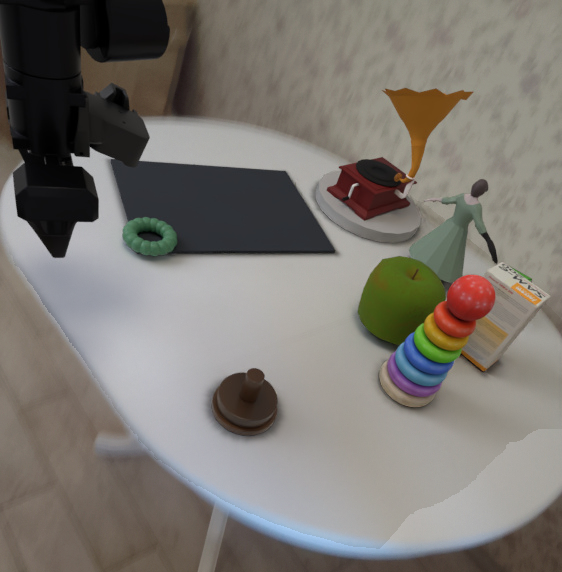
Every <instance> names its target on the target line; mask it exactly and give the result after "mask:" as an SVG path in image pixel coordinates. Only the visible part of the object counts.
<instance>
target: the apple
mask: <svg viewBox="0 0 562 572" xmlns="http://www.w3.org/2000/svg"><path fill="white" fill-rule="evenodd" d="M443 301H447V293H446V288H445V286H444V284H443V282H442V280H441V279H439V277H438V276H437V274H436V273H435V272H434V271H433V270H432V269H431V268H430V267H428V266H427V265H425V264H424V263H422V262H421V261H419V260H416V259H413V258H411V256H402V255H398V256H392V257H387V258H382V259H381V260H380V261H379V263H378V264H377V265H376V266H375V267H374V268H373V270H372V271H371V272H370V273H369V276H368V278H367V280H366V282H365V283H364V286H363V289H362V292H361V295H360V299H359V303H358V307H357V313H358V317H359V319H360V322H361V323H362V325H363V326H364V327H365V328H366V329H367V331H368V332H369V333H371V334H372V335H373V336H375V337H376V338H378V339H379V340H383V341H385V342H387V343H390V344H394V345H396V346H397V345H398V346H400V345H401V344H402V343H403V342H405V340H406V338H407V337H408V336H409V335H410V334H411V333H413V332H415V330H416V329H417V328H418V326H420V325H421V324H423V323H424V322H425V319H426V318H427V317H428V316H429V315H430V314H431V313H434V310H435V308H436V306H437V305H438V304H439V303H441V302H443Z"/></svg>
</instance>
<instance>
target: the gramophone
mask: <svg viewBox="0 0 562 572" xmlns="http://www.w3.org/2000/svg"><path fill="white" fill-rule="evenodd" d="M381 92H383V93H384V94H385V95H386V96H387V97H388V98H389V99H390V101H391V104H392V105H393V107H394V109H395V111H396V113H397V115H398V117H399V119H400V120H401V121H402V123H403V125H404V126H405V128H406V130H407V131H408V135H409V137H410V147H411V148H410V149H411V151H410V152H411V165H410V166H411V167H410V169H409V171H408V173H405V172H404V171H403V170H401V169H400V168H399V167H398V166H396V165H395V164H393V163H392V162H390V161H389V160H388V159H386V158H384V157H383V156H380V157H376V158H371V159H369V158H365V159H360V160H357V162H352V163H347V164H344V165H343V164H342V165H339V166H338V169H339V170H332V171H329V172H327V173H324V174H323V175H322V177H321V178H320V179H319V181H318V183H317V187H316V189H315V201H316V203H317V205H318V207H319V208H320V210H321V211H322V213H324V214H325V215H326V217H328V218H329V219H330V221H331V222H333V223H335V224H336V225H337V226H339V227H341V228H342V229H344V230H345V231H347V232H349V233H352V234H353V235H356V236H358V237H361V238H362V239H363V238H364V239H367V240H370V241H374V242H379V243H391V244H395V243H401V242H406V241H408V240H409V239H411V238H412V237H414V236H415V234H416V232H417V230H418V229H419V227H420V224H421V221H422V216H421V212H420V208H418V206H417V204H416V203H415V201H414V200H413V199H412V198H411V197H410V196H408V195H409V193H410V191H411V189H412V187H413V186H414V185H416V184H418V182H417V181H416V176H417V174H418V171H419V170H420V167H421V163H422V160H423V157H424V154H425V151H426V150H425V149H426V145H427V142H428V138H430V135H431V134H432V132H433V131H434V130H435V129H436V128H437V126H439V124H440V123H441V122H442V121H444V120H445V119H446V117H447V116H448V115H449V114H450V113H451V111H452V110H453V109H454V108H455V107H456V105H457V104H458V103H460V101H461V100H462V101H467V100H468V99H469V98H470V97H471V95H472V94H473V93H474V91H465V90H464V89H461V90H458V91H454V92H451V93H448V94H446V93H445V92H442V91H441V90H439V89H438V88H432V89H431V88H430V89H427V90H423V91H416V90H414V89H411V88H408V87H402V88H400V89H396V90H394V89H389V88H384V90H383V89H381Z"/></svg>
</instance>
